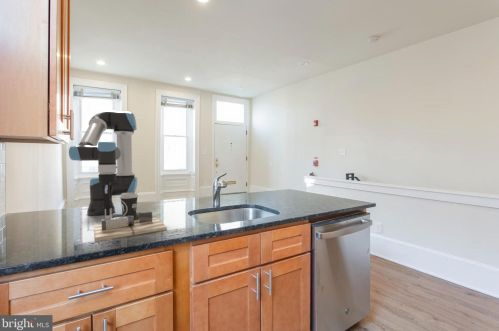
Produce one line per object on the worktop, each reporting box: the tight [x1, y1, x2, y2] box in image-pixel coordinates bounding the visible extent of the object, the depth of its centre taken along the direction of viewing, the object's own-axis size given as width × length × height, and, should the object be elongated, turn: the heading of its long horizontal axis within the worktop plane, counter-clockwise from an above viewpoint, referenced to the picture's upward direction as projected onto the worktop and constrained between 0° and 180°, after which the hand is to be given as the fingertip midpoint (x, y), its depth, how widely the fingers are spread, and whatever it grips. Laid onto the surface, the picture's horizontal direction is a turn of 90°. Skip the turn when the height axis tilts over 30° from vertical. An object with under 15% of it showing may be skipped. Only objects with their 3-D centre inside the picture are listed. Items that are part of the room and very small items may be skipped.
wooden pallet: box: [94, 210, 168, 242], centre depth 122 cm, size 21×30×6 cm
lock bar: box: [100, 216, 134, 230], centre depth 120 cm, size 14×4×5 cm, turn 126°
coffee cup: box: [119, 191, 139, 220], centre depth 140 cm, size 10×10×15 cm
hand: (108, 221), depth 119 cm, fingers closed
